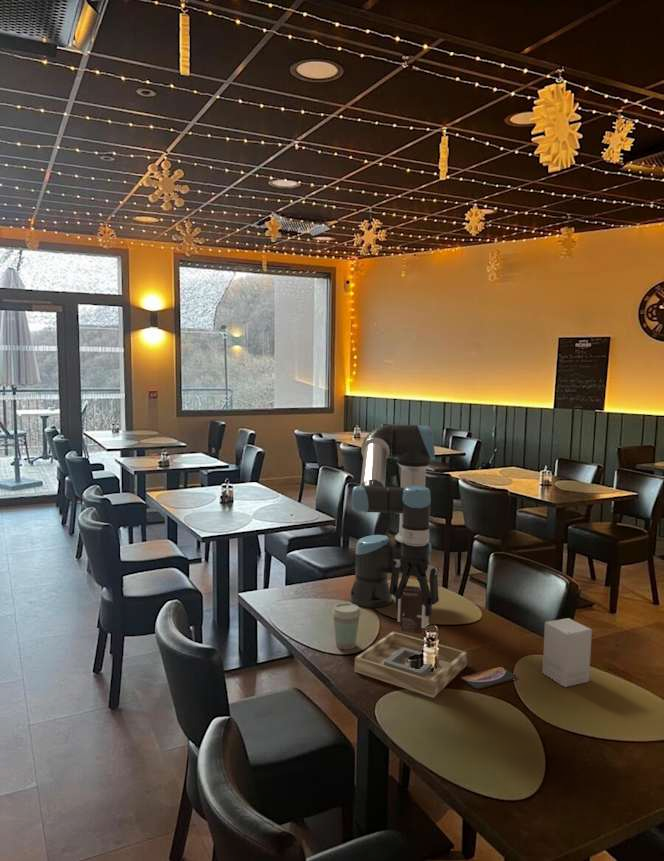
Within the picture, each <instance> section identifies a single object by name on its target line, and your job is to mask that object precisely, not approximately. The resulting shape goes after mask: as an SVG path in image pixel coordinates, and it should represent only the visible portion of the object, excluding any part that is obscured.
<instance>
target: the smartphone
mask: <svg viewBox="0 0 664 861" xmlns="http://www.w3.org/2000/svg"><path fill="white" fill-rule="evenodd" d="M516 678H518V675H516V674H514V673H513V672H511V671H509V670H508V669H506V668H505V667H502V666H497V667H494V668H489V669H486V670H482V671H478V672H475V673H471V674H468V675H464V676H461V677H460V680H461V681H462V682H463V683H465V684H466V683H467V684H466V685H468V686H469V687H471V688H472V687H473V689H474V690H476V691H480V689H481V690H485V689H487V688H491V686H492V687H494V685H495V686H497V684H499V683H502V684H504V683H503V682H506V681H509V680H513V679H516ZM518 679H519V678H518ZM516 680H517V679H516ZM513 681H514V680H513ZM509 682H510V681H509ZM506 683H507V682H506ZM499 685H500V684H499ZM484 688H485V689H484Z"/></svg>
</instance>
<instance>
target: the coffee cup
mask: <svg viewBox="0 0 664 861" xmlns="http://www.w3.org/2000/svg"><path fill="white" fill-rule="evenodd" d="M331 615H332V616H333V624H334V626H333V627H334V637H335V638H334V639H335V646H336V647H337V648H338V649H339V650H347V651H348V650H352V649H354V648H355V647H356V644H357V643H356V642H357V636H358V630H359V629H358V628H359V621H360V616H361V610H360V606H358V605H356V604H354V603H352V602H351V603H350V602H341V603H337V604H335V605H334V607H333V610H332V612H331Z"/></svg>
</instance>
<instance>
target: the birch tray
mask: <svg viewBox="0 0 664 861" xmlns="http://www.w3.org/2000/svg"><path fill="white" fill-rule="evenodd" d="M424 640H425V639H422V638H418V637H414V636H411V635H408V634H405V633H400V632H397V631H395V630H394V631H391V632H390V633H389V634H386V635H385V636H384V637H382V638H381V639H380V640H378V641H376V642H375V643H374V644H371V646H369V647H368V648H367V649H365V650H364V651H363V652H361V653H360V654H358V655H357V656H355V657H354V672H355V673H357V674H361V675H363V676H367V677H370V678H373V679H376V680H379V681H382V682H384V683H387V684H391V685H394V686H396V687H400V688H403V689H406V690H409V691H411V692H414V693H418V694H421V695H423V696H426V697H430V698H432V699H433V698H435V697H437V696H438V694H439V693H440V692H441V691H442V690H443V689H444V688H446V686H447V685H448V684H450V682H451V681H453V679H455V678H456V676H457V675H458V674H459V673H461V671H463V669H465V668H466V666H467V665H468V652H467V651H465V650H461V649H457V648H454V647H451V646H447V645H444V644H439V643H437V644H438V648H439V665H437V668H436V669H435V671H433V672H430V673H429V674H427V675H426V676H425V677H424V678H423V677H420V676H417V675H414V674H411V673H407V672H404V671H401V670H398V669H395V668H392V667H388V666H385V665H384V661H385V660H387V659H388V658H389V657H391V656H392V655H393V654H394V653H396V652H397V651H398V650H400V649H401V648H402V647H404V648H408V649H411V650H415V651H418V652H422V650H423V646H424ZM407 660H408V658H407V657H404V658H403V659H402V660H400V661H399V662H398V663H399V664H402V665H405V666H408V665H407ZM418 670H419V669H418Z"/></svg>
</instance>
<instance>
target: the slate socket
mask: <svg viewBox="0 0 664 861" xmlns="http://www.w3.org/2000/svg"><path fill="white" fill-rule="evenodd" d="M420 654H422V652H418V651H415V650H411V649H408V648H404V647H402V648H401V649H400V650H398V651H397V652H396V653H394V654H393V655H392V656H391V657H389V658H388V659H387V660H385V661H384V665H385V666H388V667H392V668H395V669H398V670H401V671H404V672H407V673H411V674H414V675H417V676H420V677H423V678H424V677H425V676H426V675H427V674H429V673H430V671H431V667H432V664H424V665H423V666H422V667H421V668H420V669H419V670H418V669H415V668H411V667H408V666H405V665H402V664H399V663H398V662H399V661H400V660H402V659H403V658H404V657H407V658H409V657H411V656H414V655H420ZM437 665H439V657H438V658H437Z"/></svg>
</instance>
